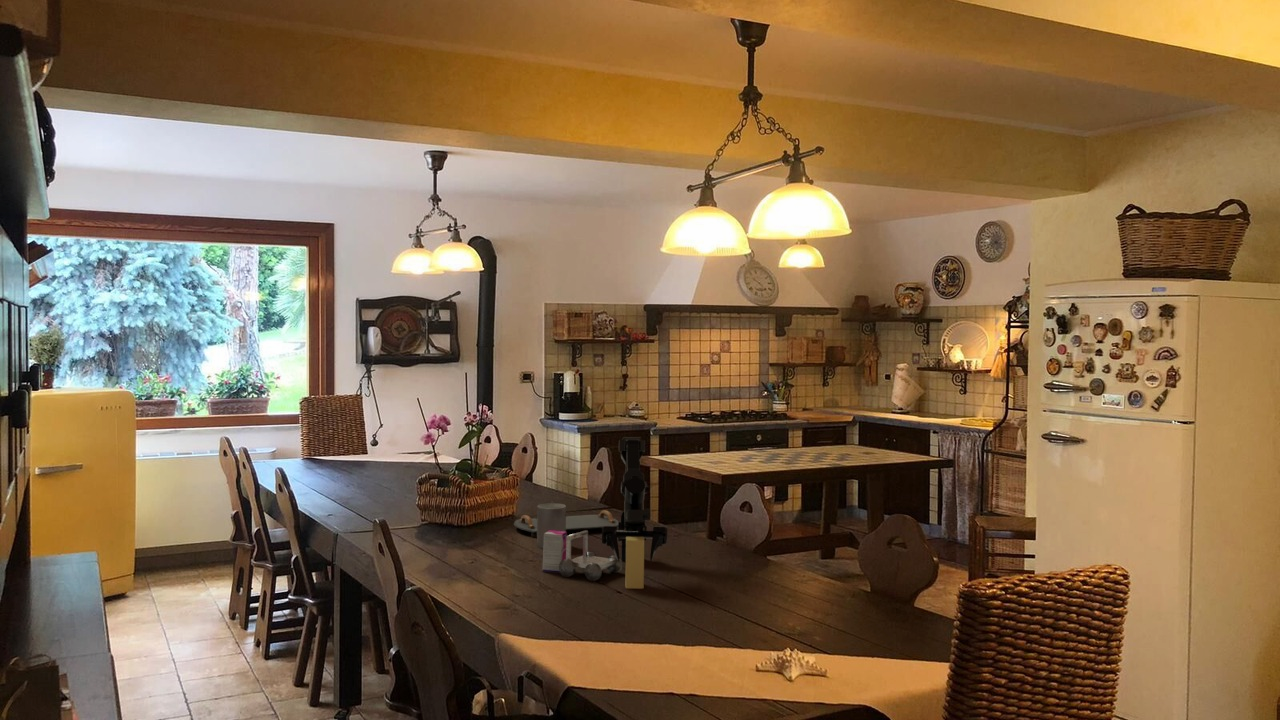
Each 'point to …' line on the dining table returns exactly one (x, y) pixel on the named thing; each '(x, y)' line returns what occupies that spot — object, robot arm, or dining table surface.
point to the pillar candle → (550, 520)
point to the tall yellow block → (634, 562)
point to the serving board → (571, 522)
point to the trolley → (587, 560)
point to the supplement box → (554, 550)
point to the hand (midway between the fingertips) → (634, 560)
